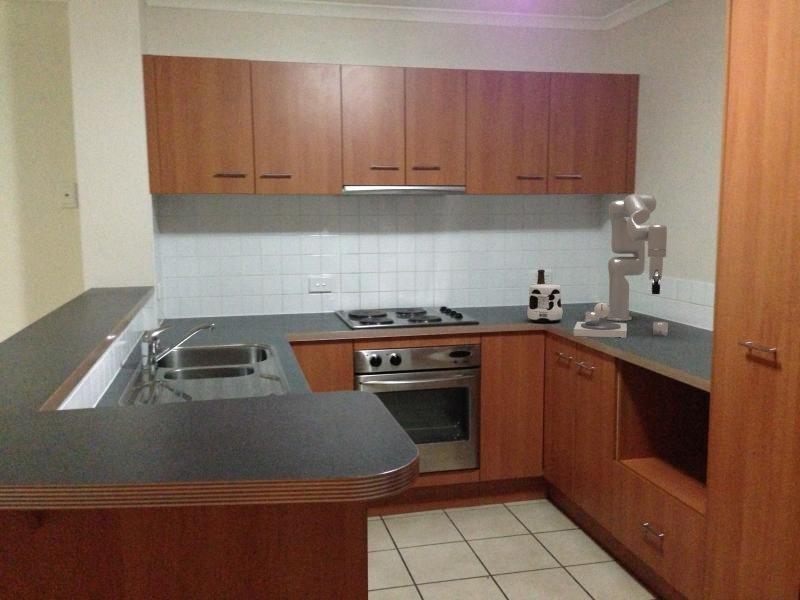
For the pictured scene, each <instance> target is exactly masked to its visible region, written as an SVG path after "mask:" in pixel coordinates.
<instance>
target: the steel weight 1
mask: <svg viewBox="0 0 800 600" xmlns="http://www.w3.org/2000/svg"><path fill="white" fill-rule="evenodd" d="M599 314H600V313H599V312H594V311H585V321H584V322H585V325H589V326H598V325H599Z"/></svg>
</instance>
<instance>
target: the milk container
mask: <svg viewBox="0 0 800 600" xmlns="http://www.w3.org/2000/svg"><path fill="white" fill-rule="evenodd" d="M526 312H527V318H528V319H529V320H530V321H531V322H536V323H537V322H538V323H554V322H559V321H561V320H562V318H563V312H564V311H563V307H562V287H561V285H559V284H554V283H553V284H551V283H550V284H548V283H545V284H537V283H536V284H531V285H529V289H528V306H527V311H526Z"/></svg>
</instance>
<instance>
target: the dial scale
mask: <svg viewBox="0 0 800 600" xmlns="http://www.w3.org/2000/svg"><path fill="white" fill-rule="evenodd" d="M593 312H599V313H600V314H599V325H598V326H589V325H585V321H576V324H575V325H574V328H573V337H589V338H591V337H595V338H615V337H621V338H620V339H626V338H627V336H628V335H627V333H628V332H627V331H628V330H627V326H628V325H627V323H625V322H608V320H607V319H608V316H609V313H610V308H609V304H607V303H605V302H599V303H597V304H596V305H594V308H593Z"/></svg>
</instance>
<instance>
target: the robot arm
mask: <svg viewBox="0 0 800 600" xmlns="http://www.w3.org/2000/svg"><path fill="white" fill-rule="evenodd" d="M656 207H657V199H656V197H655V195H653V194H650V193H634V194H632V193H631V194H629V195H627V196H626V197H624V199H617V200H613V201H611V202H610V204H609V206H608V217H609V220H610V224H611V251H612V253H614V254H618V255H633V256H615V257H612V258H610V259H609V260H608V263H607V269H608V279H609V286H608V287H609V289H608V290H609V293H608V294H609V295H608V306H609V308H610V313H609V315H608V319H607V321H615V322H616V321H617V322H625V321H626V322H627V321H631V320H632V319H633V318H632V316H629V313H630V311H629V309H630V306H629V305H630V284H629V281H628V280H627V279H626V277H628V276H629V277H630V276H641V275H643V273H644V272H645V265H646V261H645V260H646V242H647V258H649V274H648V276H649V278H648V279H649V280H650V281H651V280H652V282H651V295H660V294H661V284H660V281H661V280H662V278H663V270H664V269H663V268H664V267H663V265H664V258H666V257H667V241H668V239H667V237H668V236H667V235H668V228H667V226H666V225H665V224H658V223H655V224H654V223H651V224H650V223H648V224H647V223H646V222H648V220H649V219H650V217H651V214H652V213H653V212H654V211H655V210H656ZM627 218H628V219H627Z"/></svg>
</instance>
